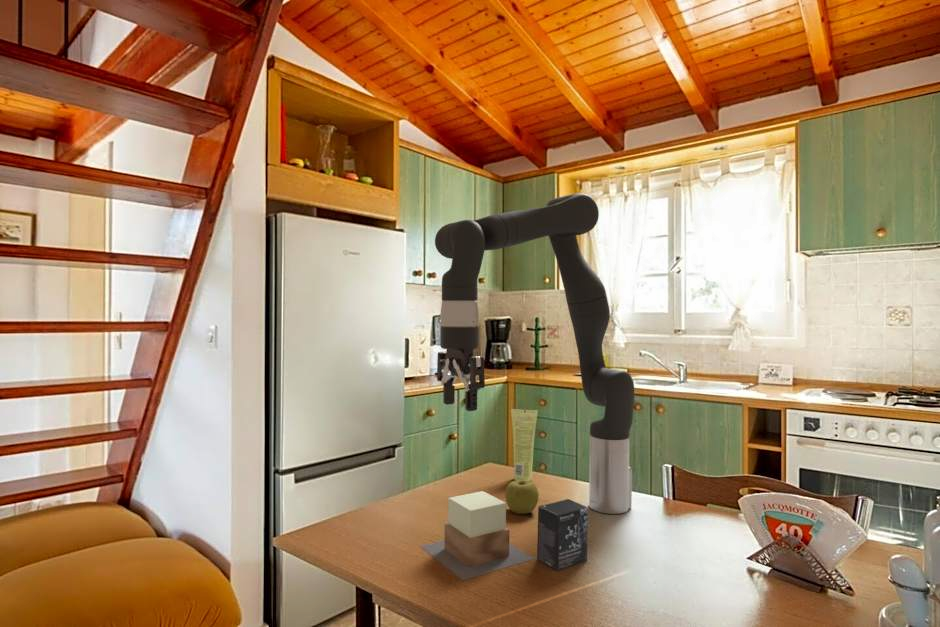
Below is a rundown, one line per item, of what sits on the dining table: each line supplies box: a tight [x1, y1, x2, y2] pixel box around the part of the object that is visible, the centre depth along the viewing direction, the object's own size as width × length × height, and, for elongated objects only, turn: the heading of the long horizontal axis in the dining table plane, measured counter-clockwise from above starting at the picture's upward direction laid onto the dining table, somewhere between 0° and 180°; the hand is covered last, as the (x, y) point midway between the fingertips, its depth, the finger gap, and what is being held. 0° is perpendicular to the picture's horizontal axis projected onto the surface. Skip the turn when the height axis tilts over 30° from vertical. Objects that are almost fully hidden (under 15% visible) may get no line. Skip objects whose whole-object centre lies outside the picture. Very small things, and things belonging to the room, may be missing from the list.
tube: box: [510, 408, 539, 482], centre depth 153 cm, size 6×5×20 cm
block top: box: [447, 490, 507, 538], centre depth 106 cm, size 8×8×5 cm
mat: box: [420, 539, 536, 581], centre depth 106 cm, size 16×16×1 cm
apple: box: [504, 480, 539, 515], centre depth 128 cm, size 8×8×7 cm
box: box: [536, 498, 589, 572], centre depth 103 cm, size 8×6×11 cm
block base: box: [444, 522, 510, 567], centre depth 106 cm, size 9×9×5 cm
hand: (459, 407), depth 107 cm, fingers open, 8 cm apart
